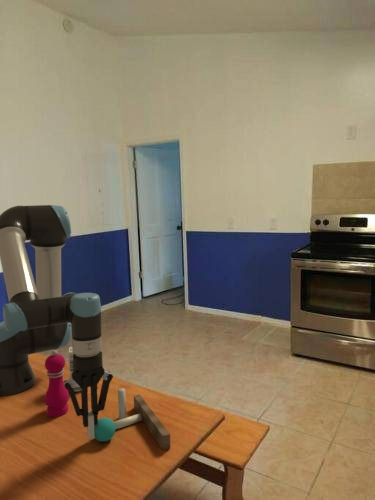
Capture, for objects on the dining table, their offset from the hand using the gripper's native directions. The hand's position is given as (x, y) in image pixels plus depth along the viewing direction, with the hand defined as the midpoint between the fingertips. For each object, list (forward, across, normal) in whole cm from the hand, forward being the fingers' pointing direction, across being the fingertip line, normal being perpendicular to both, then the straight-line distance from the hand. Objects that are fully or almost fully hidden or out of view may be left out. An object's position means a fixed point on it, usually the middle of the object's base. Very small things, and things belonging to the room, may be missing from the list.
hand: (90, 436), depth 105 cm
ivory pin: (+1, +7, +4) cm, 8 cm away
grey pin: (+2, +11, +8) cm, 14 cm away
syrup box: (+2, +3, +34) cm, 34 cm away
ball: (-1, +4, 0) cm, 4 cm away
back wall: (+2, +17, 0) cm, 17 cm away
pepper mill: (+2, -6, +21) cm, 22 cm away
